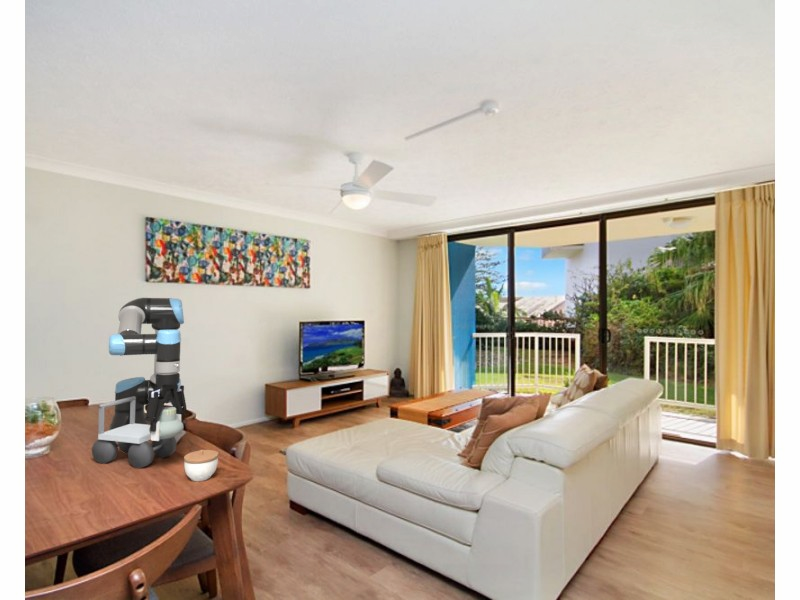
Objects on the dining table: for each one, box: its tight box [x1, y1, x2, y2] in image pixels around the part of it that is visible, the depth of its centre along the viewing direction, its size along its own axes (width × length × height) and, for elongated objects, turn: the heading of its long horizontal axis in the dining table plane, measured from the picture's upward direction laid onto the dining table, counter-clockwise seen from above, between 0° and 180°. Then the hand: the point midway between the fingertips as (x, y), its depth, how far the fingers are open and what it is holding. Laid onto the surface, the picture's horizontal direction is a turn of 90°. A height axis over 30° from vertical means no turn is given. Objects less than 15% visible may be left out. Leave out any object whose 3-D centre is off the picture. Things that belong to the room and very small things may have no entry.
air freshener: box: [149, 406, 185, 439], centre depth 153 cm, size 11×8×10 cm
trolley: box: [91, 396, 177, 469], centre depth 163 cm, size 15×25×22 cm, turn 77°
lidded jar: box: [183, 449, 220, 482], centre depth 147 cm, size 11×11×9 cm
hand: (166, 436), depth 153 cm, fingers closed on air freshener, 10 cm apart
